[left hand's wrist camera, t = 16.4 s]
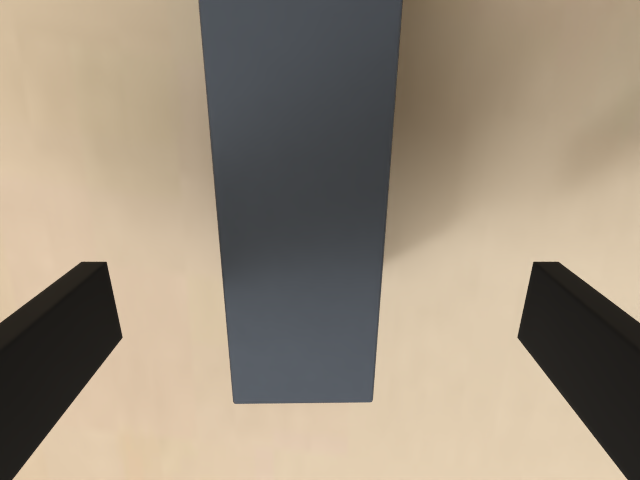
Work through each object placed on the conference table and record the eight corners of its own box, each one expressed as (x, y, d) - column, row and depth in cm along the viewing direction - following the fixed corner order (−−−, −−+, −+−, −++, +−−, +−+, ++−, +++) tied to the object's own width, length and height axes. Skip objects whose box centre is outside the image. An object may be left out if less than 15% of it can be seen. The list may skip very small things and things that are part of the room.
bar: (348, 281, 21) (373, 403, 13) (261, 281, 21) (232, 404, 13) (376, -399, 12) (499, -1261, 4) (229, -406, 12) (83, -1306, 4)
